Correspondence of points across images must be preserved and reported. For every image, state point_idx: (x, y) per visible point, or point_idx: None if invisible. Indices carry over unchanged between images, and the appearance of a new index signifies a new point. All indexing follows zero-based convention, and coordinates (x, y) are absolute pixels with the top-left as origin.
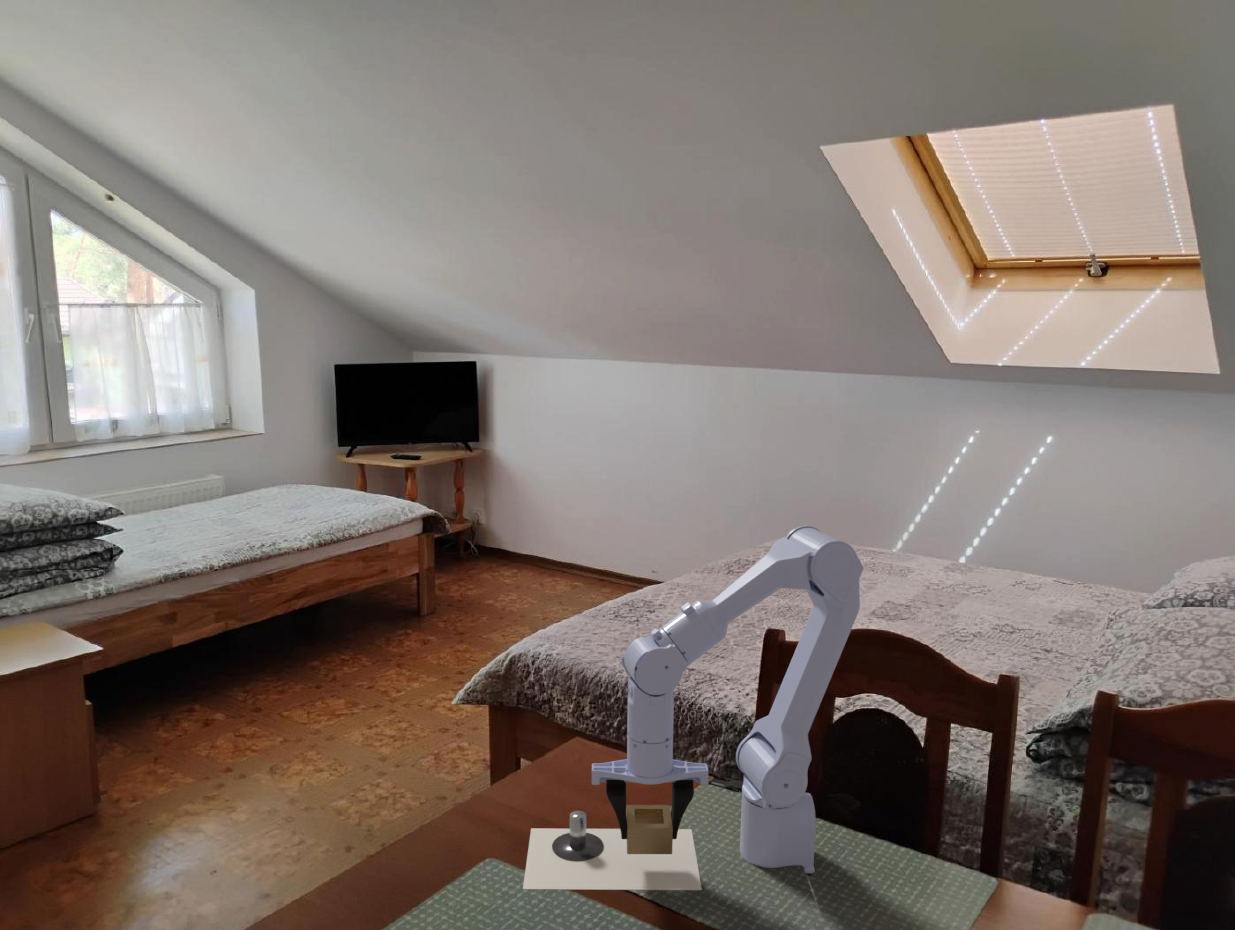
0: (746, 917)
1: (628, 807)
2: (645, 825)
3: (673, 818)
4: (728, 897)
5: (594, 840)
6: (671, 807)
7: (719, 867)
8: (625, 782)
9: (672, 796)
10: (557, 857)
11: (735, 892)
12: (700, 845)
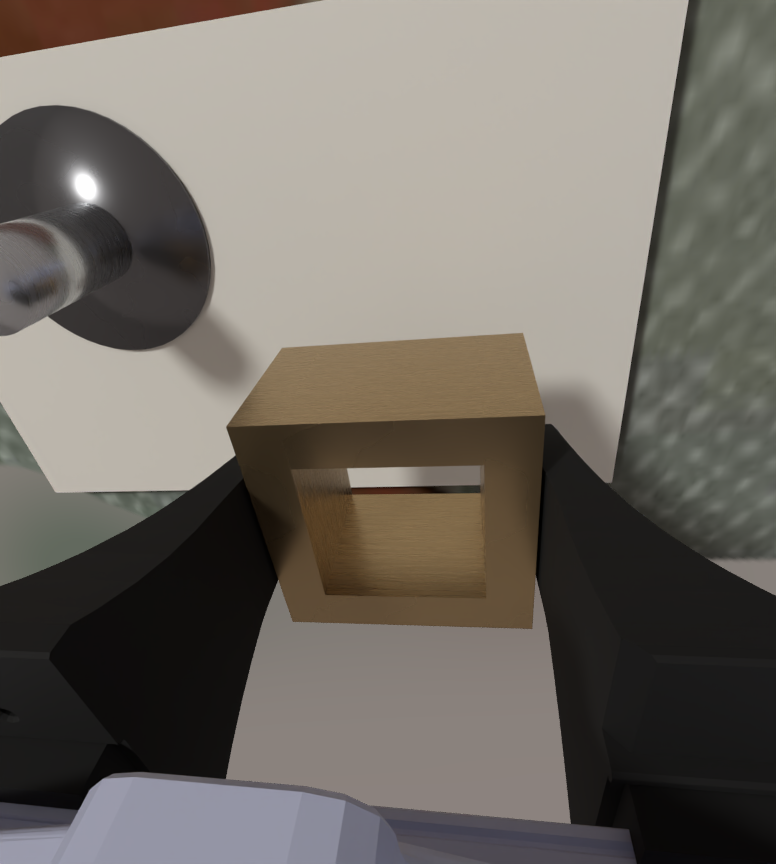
0: (725, 549)
1: (248, 455)
2: (381, 609)
3: (546, 617)
4: (702, 470)
5: (147, 187)
6: (552, 489)
7: (739, 293)
8: (140, 766)
9: (571, 623)
10: (62, 331)
11: (741, 446)
12: (705, 85)
